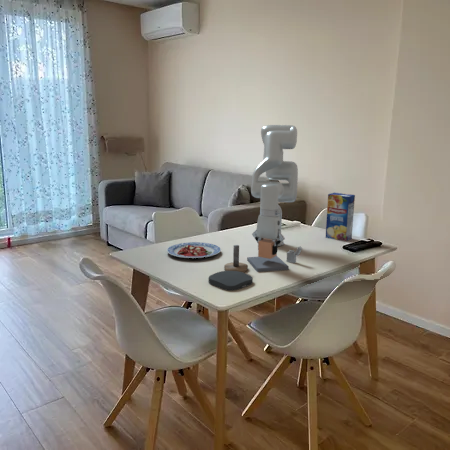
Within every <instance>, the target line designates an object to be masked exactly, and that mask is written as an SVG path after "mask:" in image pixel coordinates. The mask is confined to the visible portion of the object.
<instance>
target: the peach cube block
mask: <svg viewBox="0 0 450 450" xmlns="http://www.w3.org/2000/svg"><path fill="white" fill-rule="evenodd" d="M272 247H273V242H272V240H271V239H262V240H260V241H259V246H258V245H257V251H258V252H257V257H263V258H269V259H271V258H273V257H275V256H277V257H278V255H277V253H278V252H277V253H276V254H275V255H272Z"/></svg>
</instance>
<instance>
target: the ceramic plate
mask: <svg viewBox="0 0 450 450" xmlns="http://www.w3.org/2000/svg"><path fill="white" fill-rule="evenodd" d="M221 250H222V249H221V247H220V246H218V245H216V244H213V243H208V242H197V241H190V242H181V243H177V244H173V245H171V246H168V247H167V248H166V252H167V253H168V254H169V255H170V256H174V257H177V258H183V259H189V258H192V259H193V260H195V259H196V258H198V259H204V257H205V258H208V257H209V258H210V257H213V256H215V255H216V256H217V255H218V254H220V252H221ZM194 258H195V259H194ZM192 259H191V260H192Z"/></svg>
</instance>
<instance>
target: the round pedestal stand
mask: <svg viewBox="0 0 450 450" xmlns="http://www.w3.org/2000/svg"><path fill="white" fill-rule="evenodd" d="M232 261H233V262H228V263H225V264H224V267H223V268H224V270H223V271H239V272H243V273H246V272H248V270H249V266H248V264H246V263H243V262H240V245H239V244H234V245H233V259H232Z"/></svg>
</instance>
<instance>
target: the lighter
mask: <svg viewBox="0 0 450 450" xmlns="http://www.w3.org/2000/svg"><path fill="white" fill-rule="evenodd" d="M302 250H303V247H302V246H298V247H297V249H296V251H295V250H290V249H289V251H287V252H286V262H287V263H292V264H296V263H297V257H298V256H299V255H300V253H301V252H302Z"/></svg>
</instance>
